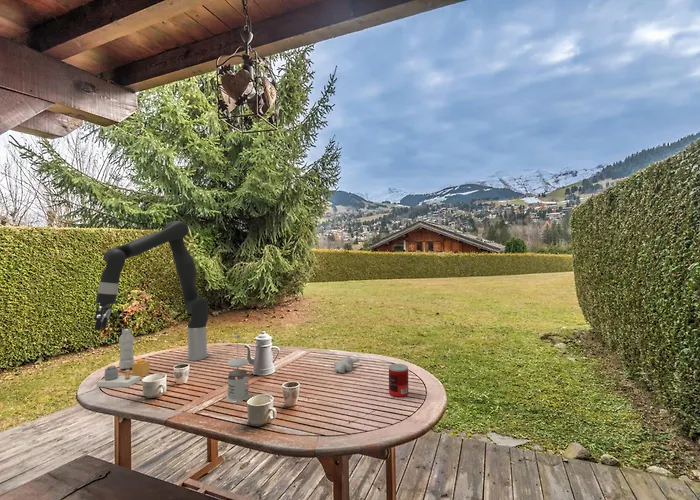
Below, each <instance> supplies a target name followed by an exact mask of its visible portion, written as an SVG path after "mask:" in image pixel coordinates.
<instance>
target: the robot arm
mask: <svg viewBox="0 0 700 500" xmlns="http://www.w3.org/2000/svg"><path fill="white" fill-rule="evenodd" d="M189 230H190V228H189V225H188V224H187V223H185V222H184V221H182V220H175V221H174V220H173V221H170V222H168V223H167V224H165V227H164V229H162V230H160V231H157V232H154V233H151V234H148V235H144V236H142V237H139V238H137V239H134V240H132V241H130V242H127V243H126V244H123V245H119V246H115V247H113V248H111V249H109V250H106V251H105V252H104V254H103V257H102V258H103V261H104V263H106V265H105V268H104V270H102V272H101V276H100V280H99V281H100V282H99V285H98V288H97V293H96V296H95V297H96V298H95V303H96V304H100V305H97V306H96V311H95V315H94V319H93V320H94V321H95V325H94V331H101V330H102V329H107V327H108V326H107V325H108V321H109V319H110V318H111V314H112V313H111V312H112V308H113V305H115V304H116V303H117V302H116V301H117V297H118V292H119V283H120V278H121V273H122V271H123V268H124V265H125V263H126V260H127V259H129V258H134V257H136V256H139V255H142V254H144V253H146V252H148V251H150V250H153V249H155V248H157V247H159V246H160V245H164V244H166V243H168V244H169V246H170V249H171V253H172V254H171V255H172V257H173V261H174V264H175V269H176V272H177V273H176V274H177V277H178V280H179V282H180V283H179V284H180V287H181V289H182V296H183V302H184V307H185V310H186V311H187V312H188V314H190V315H191V316H190V320H189V321H188V322H187V359H188V361H193V362H195V361H201V360H204V359H206V358H207V357H208V352H207V351H208V350H207V349H208V342H207V322H208V319H209V304H208V300H206V299H205V298H204V297H200V296H199V293H198V291H197V287H196V285H197V276H198V275H197V273H198V272H197V268H196V264H195V261H194V259H193V257H192V255H191V253H190V252H189V251H188V249H187V248H186V245H185V241H184V238H185V237H187V235H188V234H189Z"/></svg>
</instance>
